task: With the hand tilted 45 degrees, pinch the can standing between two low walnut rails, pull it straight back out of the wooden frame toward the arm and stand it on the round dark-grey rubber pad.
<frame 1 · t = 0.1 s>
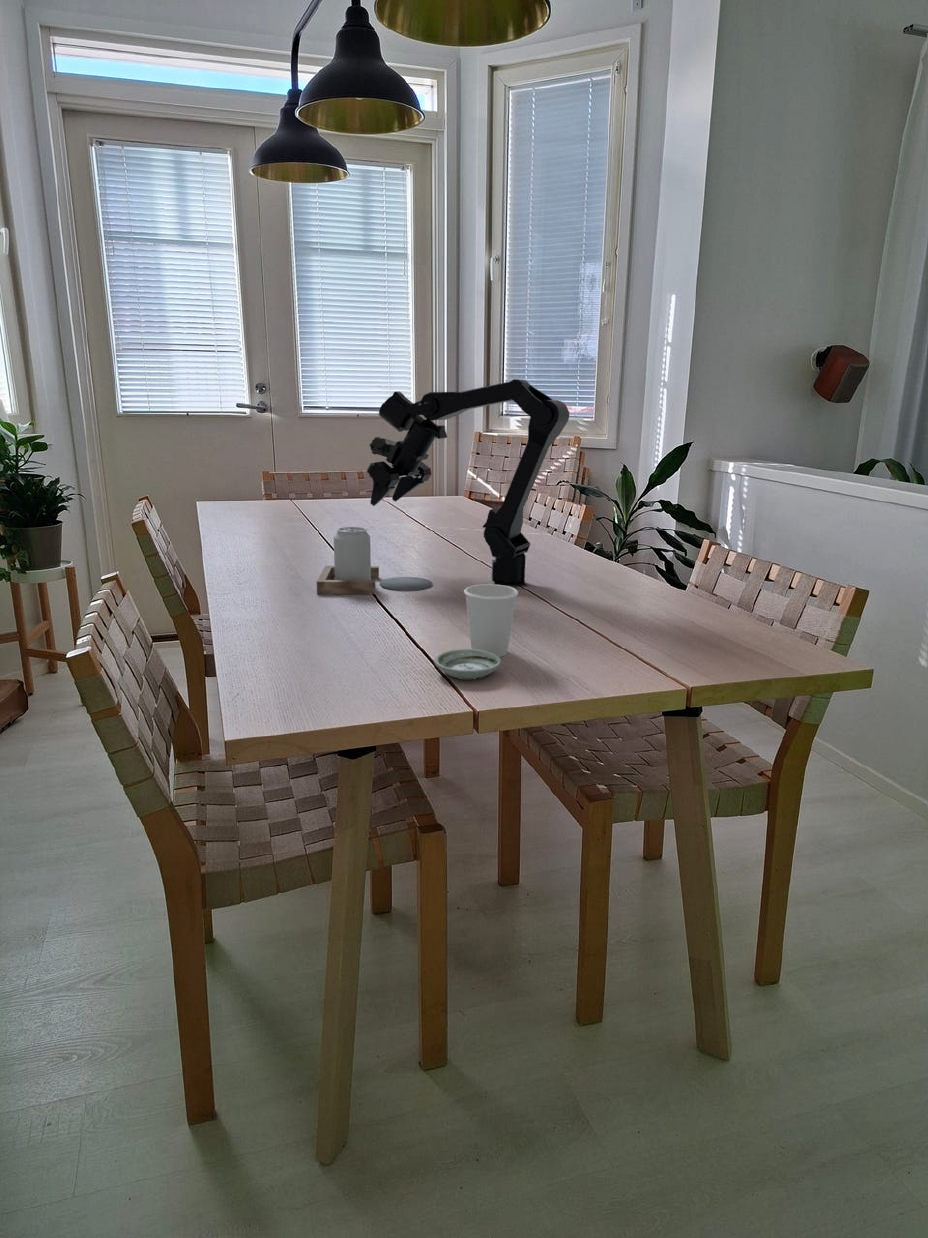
hand: (383, 502, 181), 15 cm above the table, tool tilted 35°, fingers open, 9 cm apart
wooden frame: (353, 585, 168), on the table
dixie cup: (489, 653, 127), on the table
can: (353, 586, 168), on the table
saucer: (467, 675, 117), on the table
pad: (406, 584, 169), on the table
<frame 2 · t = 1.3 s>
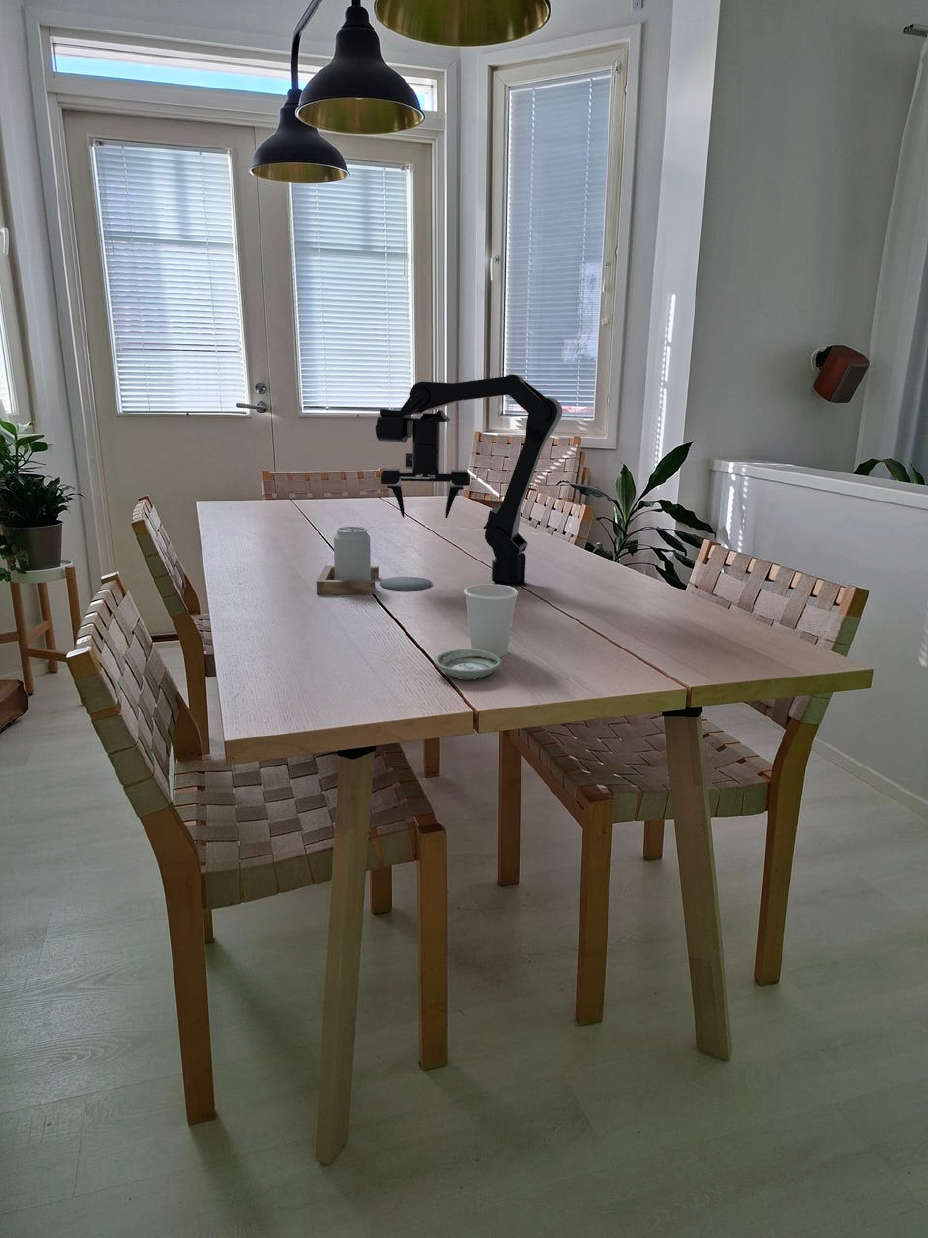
hand: (424, 517, 174), 13 cm above the table, tool pointing down, fingers open, 9 cm apart
nothing on the table moved.
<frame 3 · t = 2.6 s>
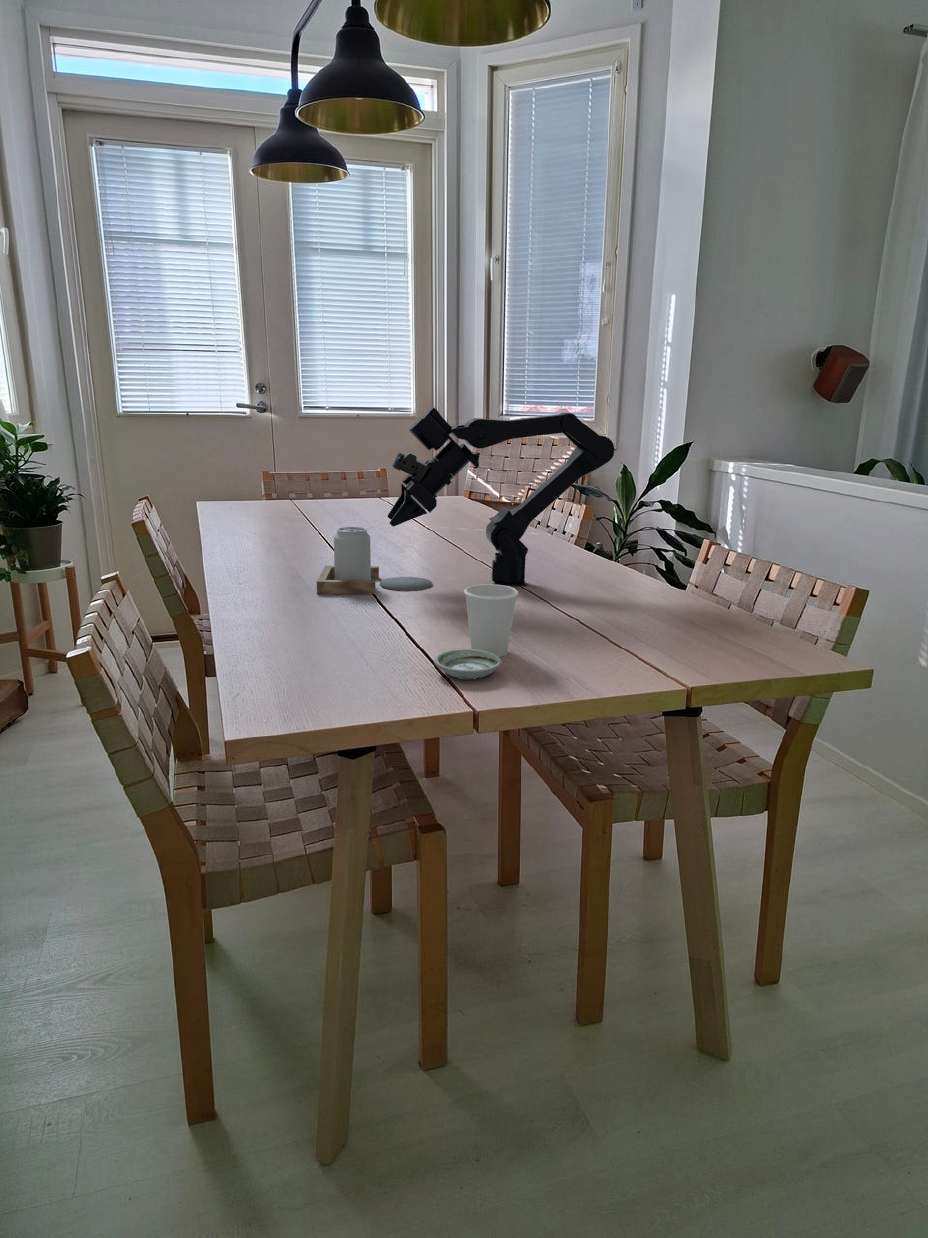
hand: (389, 521, 165), 13 cm above the table, tool tilted 45°, fingers open, 9 cm apart
nothing on the table moved.
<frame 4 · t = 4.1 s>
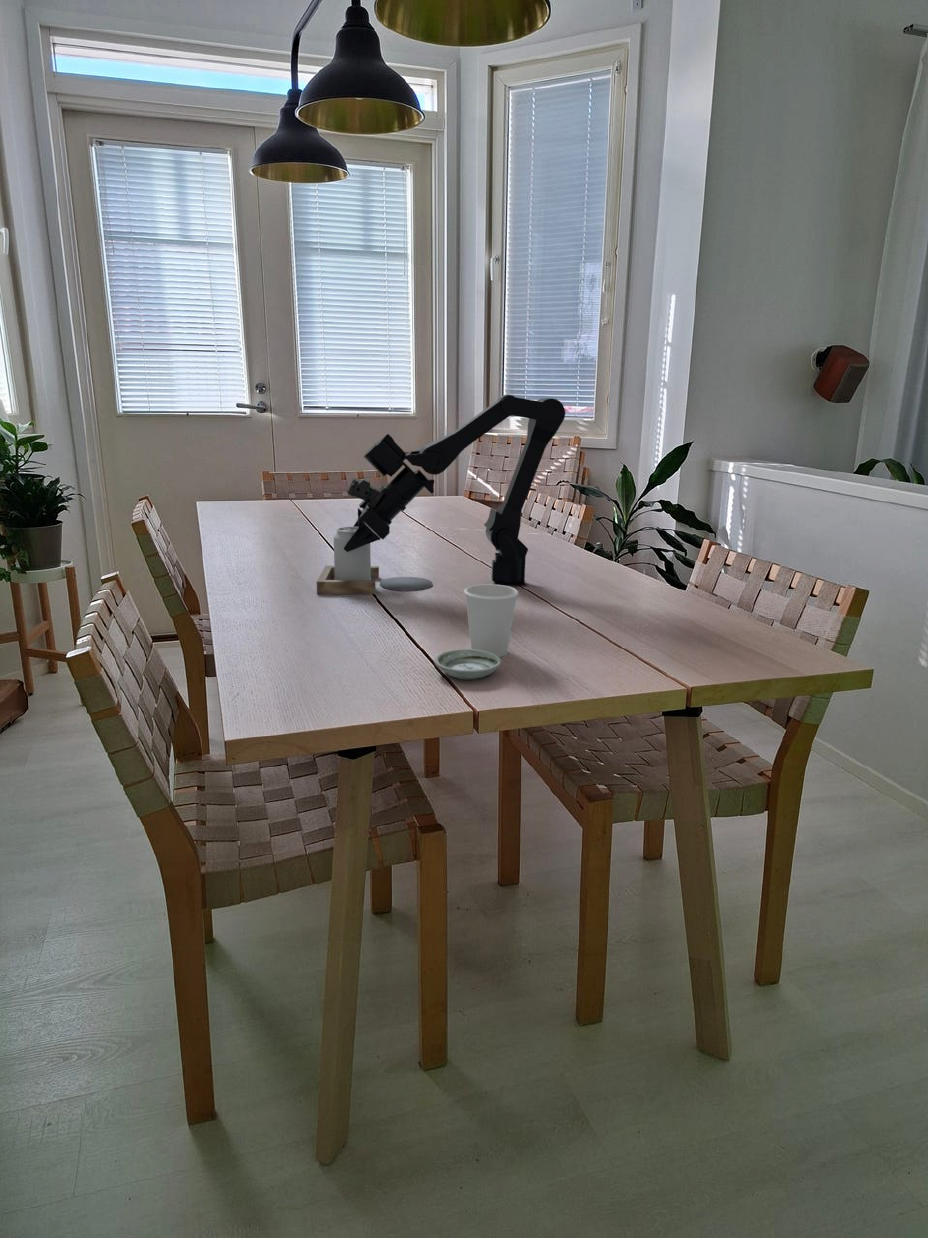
hand: (345, 546, 166), 8 cm above the table, tool tilted 45°, fingers closed on can, 7 cm apart
can: (352, 586, 168), on the table, touching gripper
everything else where it was.
when the fingers open (9 cm above the table, at t = 7.5 s): can stays where it is, resting on pad.
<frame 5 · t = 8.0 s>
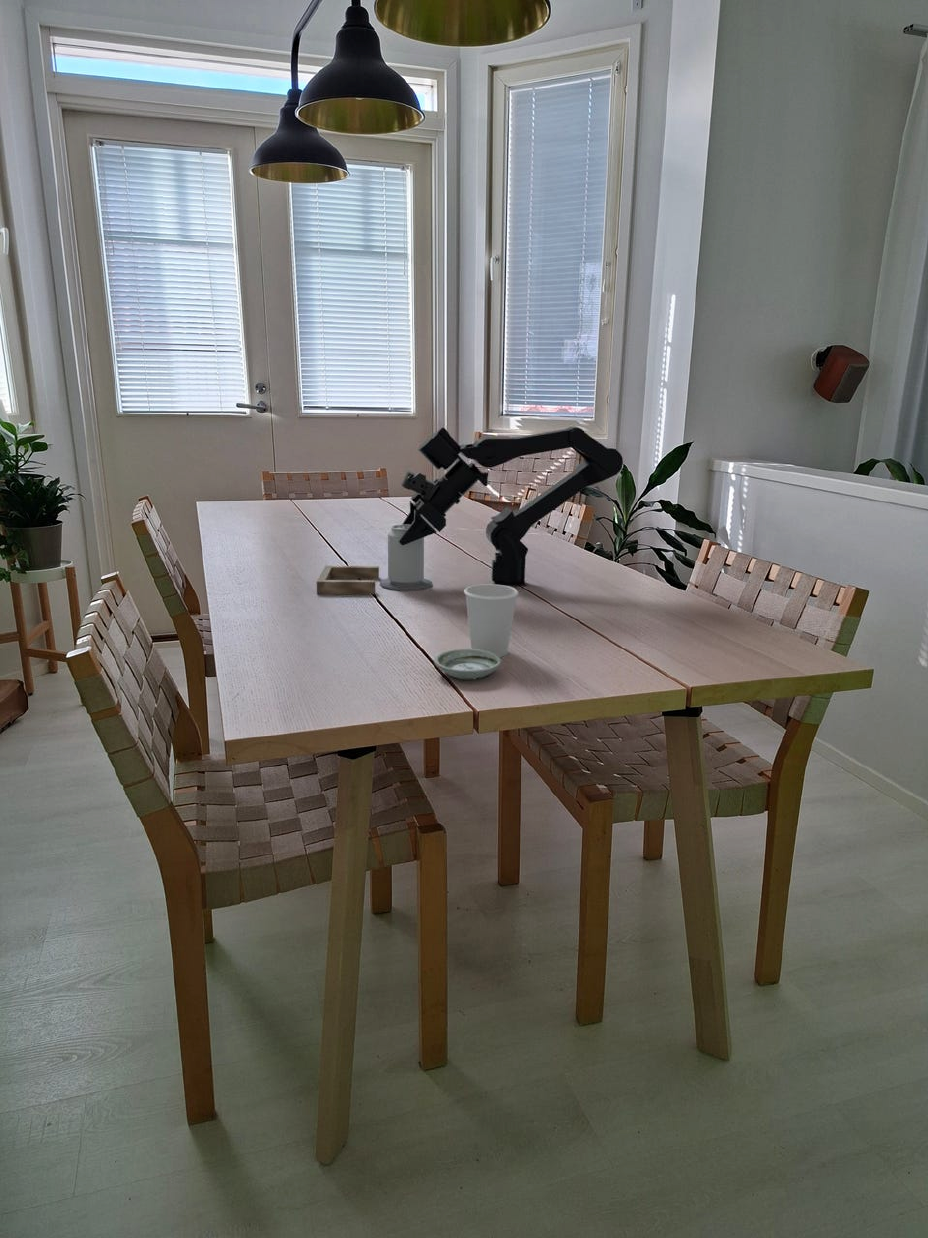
hand: (399, 539, 167), 10 cm above the table, tool tilted 45°, fingers open, 9 cm apart
can: (405, 583, 169), resting on pad
everything else where it was.
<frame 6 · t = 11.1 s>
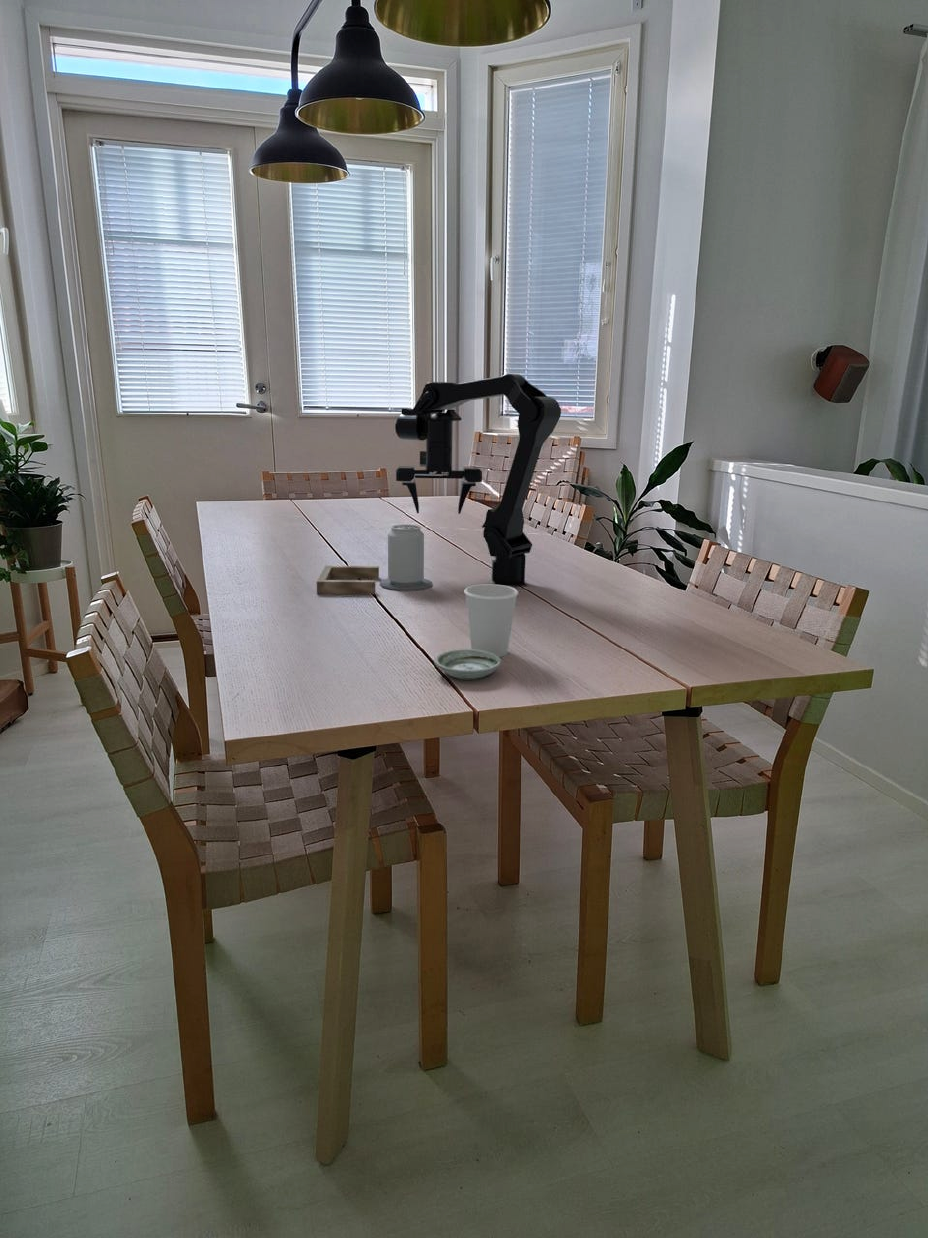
hand: (438, 513, 180), 13 cm above the table, tool pointing down, fingers open, 9 cm apart
nothing on the table moved.
at the end: can 0.0 cm from the pad (horizontally); can tilted 0°; can resting on pad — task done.
